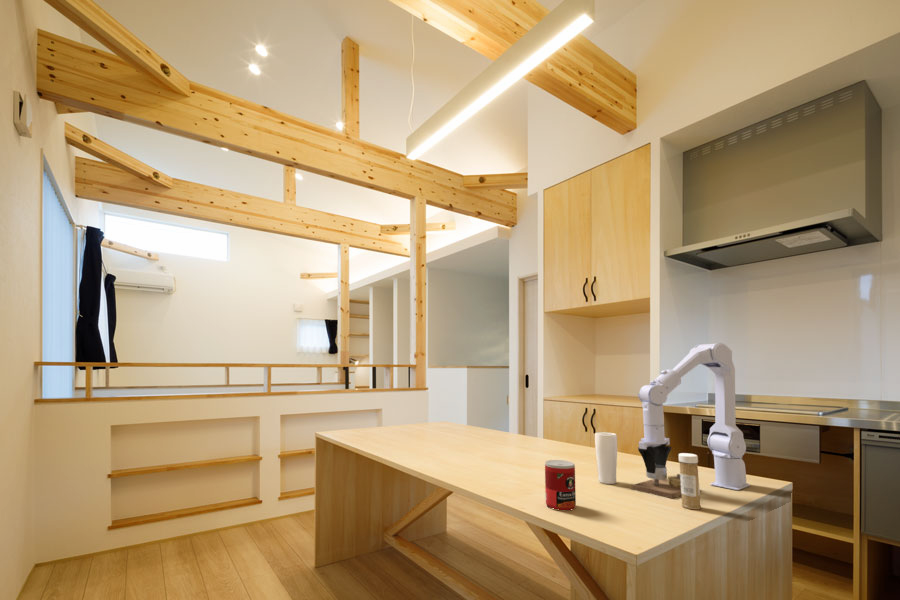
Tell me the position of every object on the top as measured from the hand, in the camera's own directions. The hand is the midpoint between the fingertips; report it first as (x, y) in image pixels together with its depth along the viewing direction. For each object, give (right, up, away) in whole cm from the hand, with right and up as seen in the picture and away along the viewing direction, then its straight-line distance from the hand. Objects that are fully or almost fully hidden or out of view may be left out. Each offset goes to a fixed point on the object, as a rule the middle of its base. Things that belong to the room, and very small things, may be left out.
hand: (656, 471), depth 139 cm
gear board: (+3, -5, -1) cm, 6 cm away
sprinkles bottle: (+1, -3, -18) cm, 18 cm away
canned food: (-33, -3, -18) cm, 38 cm away
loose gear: (0, -2, 0) cm, 2 cm away
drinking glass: (-12, -6, +7) cm, 15 cm away
